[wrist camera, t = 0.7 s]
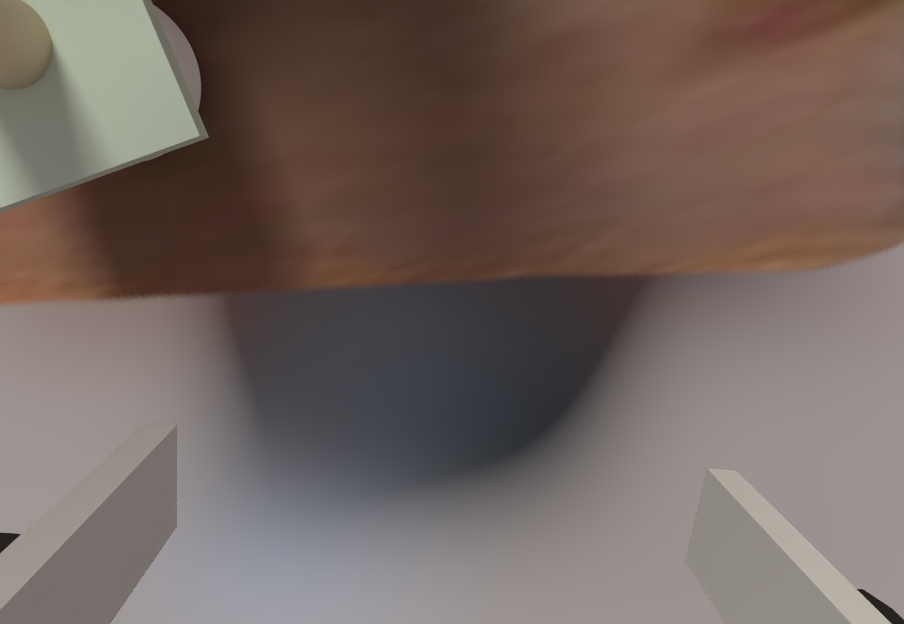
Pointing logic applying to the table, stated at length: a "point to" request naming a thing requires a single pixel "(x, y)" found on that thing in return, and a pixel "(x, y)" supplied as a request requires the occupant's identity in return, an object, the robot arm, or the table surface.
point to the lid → (85, 94)
